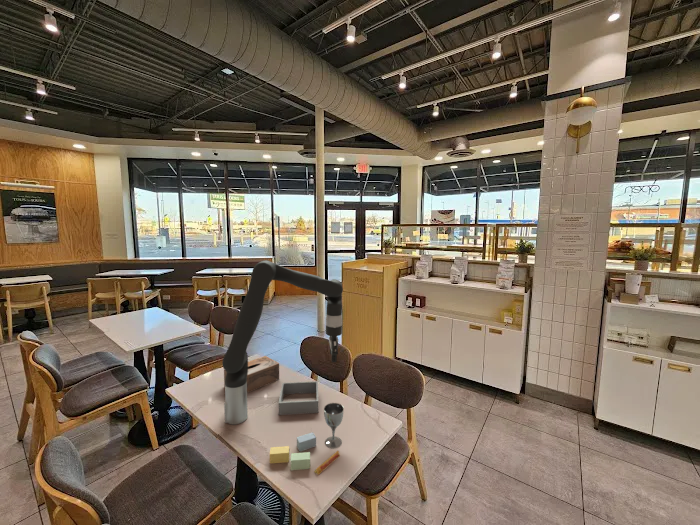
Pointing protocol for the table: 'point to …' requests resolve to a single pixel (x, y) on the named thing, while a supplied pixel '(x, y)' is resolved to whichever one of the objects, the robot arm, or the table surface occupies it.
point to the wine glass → (333, 423)
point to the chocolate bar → (327, 463)
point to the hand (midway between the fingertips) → (333, 357)
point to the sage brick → (300, 461)
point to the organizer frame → (298, 406)
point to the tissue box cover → (260, 373)
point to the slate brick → (306, 441)
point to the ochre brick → (279, 454)
